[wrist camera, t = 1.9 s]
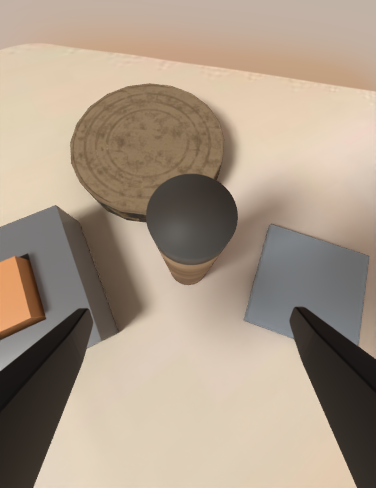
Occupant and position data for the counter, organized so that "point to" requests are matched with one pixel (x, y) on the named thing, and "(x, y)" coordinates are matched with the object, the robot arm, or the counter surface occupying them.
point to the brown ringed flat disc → (143, 145)
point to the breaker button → (18, 297)
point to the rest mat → (307, 283)
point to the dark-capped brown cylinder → (191, 224)
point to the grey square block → (55, 277)
